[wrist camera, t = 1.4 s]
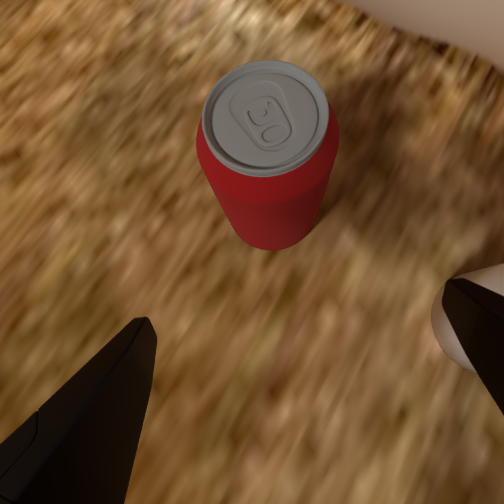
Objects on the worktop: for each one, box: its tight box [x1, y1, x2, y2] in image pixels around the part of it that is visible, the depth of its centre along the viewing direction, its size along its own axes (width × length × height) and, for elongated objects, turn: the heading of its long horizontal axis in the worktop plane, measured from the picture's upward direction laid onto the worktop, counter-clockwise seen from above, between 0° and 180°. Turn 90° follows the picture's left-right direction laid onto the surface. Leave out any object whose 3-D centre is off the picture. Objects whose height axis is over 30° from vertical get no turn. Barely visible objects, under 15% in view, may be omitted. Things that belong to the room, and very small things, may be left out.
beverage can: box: [196, 60, 339, 250], centre depth 19 cm, size 7×7×12 cm
